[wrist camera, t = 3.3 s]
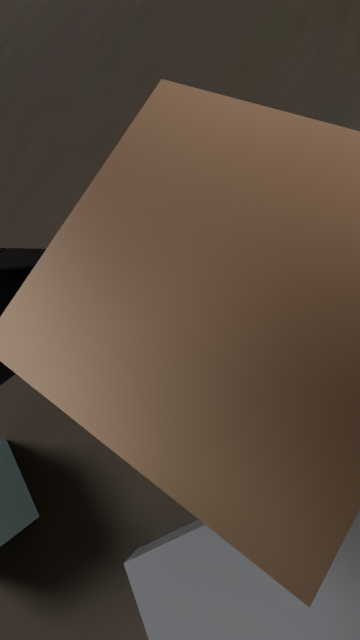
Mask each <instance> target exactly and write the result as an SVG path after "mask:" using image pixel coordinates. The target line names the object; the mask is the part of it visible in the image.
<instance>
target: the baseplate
mask: <svg viewBox="0 0 360 640" xmlns="http://www.w3.org/2000/svg"><path fill="white" fill-rule="evenodd" d="M124 566H125V569H126V572H127V575H128V578H129V581H130V584H131V587H132V590H133V593H134V596H135V599H136V602H137V605H138V609H139V612H140V615H141V618H142V621H143V624H144V627H145V630H146V633H147V636H148V639H149V640H360V510H359V512H358V514H357V516H356V518H355V520H354V522H353V524H352V526H351V528H350V530H349V532H348V534H347V535H346V537H345V539H344V541H343V543H342V545H341V547H340V549H339V551H338V553H337V555H336V557H335V559H334V561H333V563H332V565H331V567H330V569H329V571H328V573H327V575H326V577H325V578H324V580H323V582H322V584H321V586H320V588H319V590H318V592H317V594H316V596H315V598H314V600H313V602H312V604H311V606H310V608H309V607H308V606H307V605H306V604H304V603H303V602H302V601H301V600H299V599H298V598H297V597H296V596H294V595H293V594H292V593H291V592H289V591H288V590H287V589H286V588H284V587H283V586H282V585H281V584H279V583H278V582H277V581H276V580H274V579H273V578H272V577H270V576H269V575H268V574H267V573H265V572H264V571H263V570H262V569H260V568H259V567H258V566H257V565H255V564H254V563H253V562H252V561H250V560H249V559H248V558H247V557H245V556H244V555H243V554H242V553H240V552H239V551H238V550H237V549H235V548H234V547H233V546H232V545H230V544H229V543H228V542H227V541H225V540H224V539H223V538H222V537H220V536H219V535H218V534H217V533H215V532H214V531H213V530H212V529H210V528H209V527H208V526H206V525H205V524H204V523H203V522H201V521H200V520H197V521H194V522H192V523H190V524H188V525H186V526H184V527H182V528H180V529H178V530H175V531H173V532H171V533H169V534H167V535H165V536H163V537H161V538H159V539H156V540H154V541H152V542H150V543H148V544H146V545H144V546H142V547H140V548H137V549H136V550H135V551H134V552H133V553H132V554H131V556H130V557H129V558H128V559H127V560H126V561H125V562H124Z"/></svg>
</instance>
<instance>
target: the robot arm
mask: <svg viewBox="0 0 360 640" xmlns="http://www.w3.org/2000/svg"><path fill="white" fill-rule="evenodd" d="M45 250H46V249H22V248H8V249H6V248H0V317H1V315H2V314H3V312H4V311H5V309H6V308H7V306H8V305H9V303H10V302H11V300H12V299H13V298H14V296H15V295H16V293H17V292H18V290H19V289H20V287H21V286H22V284H23V283H24V281H25V280H26V278H27V277H28V275H29V274H30V272H31V271H32V270H33V268H34V267H35V265H36V264H37V262H38V261H39V259H40V258H41V256H42V255H43V253H44V252H45ZM15 374H16V373H14V372H13V371H12V370H11V369H9V368H8V367H7V366H6V365H4V364H3V363H2V362H1V361H0V385H1V384H3V383H4V382H5V381H7V380H8V379H9V378H11V377H12V376H13V375H15Z"/></svg>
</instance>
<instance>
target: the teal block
mask: <svg viewBox="0 0 360 640" xmlns="http://www.w3.org/2000/svg"><path fill="white" fill-rule="evenodd" d="M39 517H40V516H39V514H38V512H37V509H36V507H35V505H34V502H33V500H32V498H31V495H30V493H29V491H28V489H27V486H26V484H25V482H24V479H23V477H22V475H21V472H20V470H19V468H18V465H17V463H16V461H15V458H14V456H13V454H12V451H11V449H10V447H9V445H8V442H7V440H0V547H1V546H2V545H3V544H5V543H6V542H7V541H9V540H10V539H11V538H12V537H14V536H15V535H16V534H18V533H19V532H20V531H22V530H23V529H24V528H25V527H27V526H28V525H29V524H31V523H32V522H33V521H35V520H36V519H37V518H39Z"/></svg>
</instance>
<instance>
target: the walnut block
mask: <svg viewBox="0 0 360 640" xmlns="http://www.w3.org/2000/svg"><path fill="white" fill-rule="evenodd" d="M0 361H1V362H2V363H3V364H4V365H6V366H7V367H8V368H9V369H11V370H12V371H13V372H14V373H16V374H17V375H18V376H19V377H21V378H22V379H23V380H25V381H26V382H27V383H28V384H30V385H31V386H32V387H33V388H35V389H36V390H37V391H38V392H40V393H41V394H42V395H43V396H45V397H46V398H47V399H48V400H50V401H51V402H52V403H53V404H55V405H56V406H57V407H58V408H60V409H61V410H62V411H63V412H65V413H66V414H67V415H68V416H70V417H71V418H72V419H73V420H75V421H76V422H77V423H78V424H80V425H81V426H82V427H83V428H85V429H86V430H87V431H89V432H90V433H91V434H92V435H94V436H95V437H96V438H97V439H99V440H100V441H101V442H102V443H104V444H105V445H106V446H107V447H109V448H110V449H111V450H112V451H114V452H115V453H116V454H117V455H119V456H120V457H121V458H122V459H124V460H125V461H126V462H127V463H129V464H130V465H131V466H132V467H134V468H135V469H136V470H137V471H139V472H140V473H141V474H142V475H144V476H145V477H146V478H147V479H149V480H150V481H151V482H153V483H154V484H155V485H156V486H158V487H159V488H160V489H161V490H163V491H164V492H165V493H166V494H168V495H169V496H170V497H171V498H173V499H174V500H175V501H176V502H178V503H179V504H180V505H181V506H183V507H184V508H185V509H186V510H188V511H189V512H190V513H191V514H193V515H194V516H195V517H196V518H198V519H199V520H200V521H201V522H203V523H204V524H205V525H206V526H208V527H209V528H210V529H212V530H213V531H214V532H215V533H217V534H218V535H219V536H220V537H222V538H223V539H224V540H225V541H227V542H228V543H229V544H230V545H232V546H233V547H234V548H235V549H237V550H238V551H239V552H240V553H242V554H243V555H244V556H245V557H247V558H248V559H249V560H250V561H252V562H253V563H254V564H255V565H257V566H258V567H259V568H260V569H262V570H263V571H264V572H265V573H267V574H268V575H269V576H270V577H272V578H273V579H274V580H276V581H277V582H278V583H279V584H281V585H282V586H283V587H284V588H286V589H287V590H288V591H289V592H291V593H292V594H293V595H294V596H296V597H297V598H298V599H299V600H301V601H302V602H303V603H304V604H306V605H307V606H308V607H309V608H310V606H311V604H312V602H313V600H314V598H315V596H316V594H317V592H318V590H319V588H320V586H321V584H322V582H323V580H324V578H325V577H326V575H327V573H328V571H329V569H330V567H331V565H332V563H333V561H334V559H335V557H336V555H337V553H338V551H339V549H340V547H341V545H342V543H343V541H344V539H345V537H346V535H347V534H348V532H349V530H350V528H351V526H352V524H353V522H354V520H355V518H356V516H357V514H358V512H359V510H360V131H356V130H352V129H348V128H345V127H341V126H337V125H333V124H329V123H326V122H322V121H318V120H314V119H311V118H307V117H303V116H299V115H295V114H292V113H288V112H284V111H280V110H277V109H273V108H269V107H265V106H261V105H258V104H254V103H250V102H246V101H243V100H239V99H235V98H231V97H227V96H224V95H220V94H216V93H212V92H208V91H205V90H201V89H197V88H193V87H190V86H186V85H182V84H178V83H174V82H171V81H167V80H163V79H161V81H160V82H159V84H158V85H157V87H156V88H155V90H154V91H153V93H152V94H151V96H150V97H149V99H148V100H147V102H146V103H145V104H144V106H143V107H142V109H141V110H140V112H139V113H138V115H137V116H136V118H135V119H134V121H133V122H132V124H131V125H130V127H129V128H128V130H127V131H126V132H125V134H124V135H123V137H122V138H121V140H120V141H119V143H118V144H117V146H116V147H115V149H114V150H113V152H112V153H111V155H110V156H109V158H108V159H107V160H106V162H105V163H104V165H103V166H102V168H101V169H100V171H99V172H98V174H97V175H96V177H95V178H94V180H93V181H92V183H91V184H90V186H89V187H88V188H87V190H86V191H85V193H84V194H83V196H82V197H81V199H80V200H79V202H78V203H77V205H76V206H75V208H74V209H73V211H72V212H71V214H70V215H69V216H68V218H67V219H66V221H65V222H64V224H63V225H62V227H61V228H60V230H59V231H58V233H57V234H56V236H55V237H54V239H53V240H52V242H51V243H50V244H49V246H48V247H47V249H46V250H45V252H44V253H43V255H42V256H41V258H40V259H39V261H38V262H37V264H36V265H35V267H34V268H33V270H32V271H31V272H30V274H29V275H28V277H27V278H26V280H25V281H24V283H23V284H22V286H21V287H20V289H19V290H18V292H17V293H16V295H15V296H14V298H13V299H12V300H11V302H10V303H9V305H8V306H7V308H6V309H5V311H4V312H3V314H2V315H1V317H0Z"/></svg>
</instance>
